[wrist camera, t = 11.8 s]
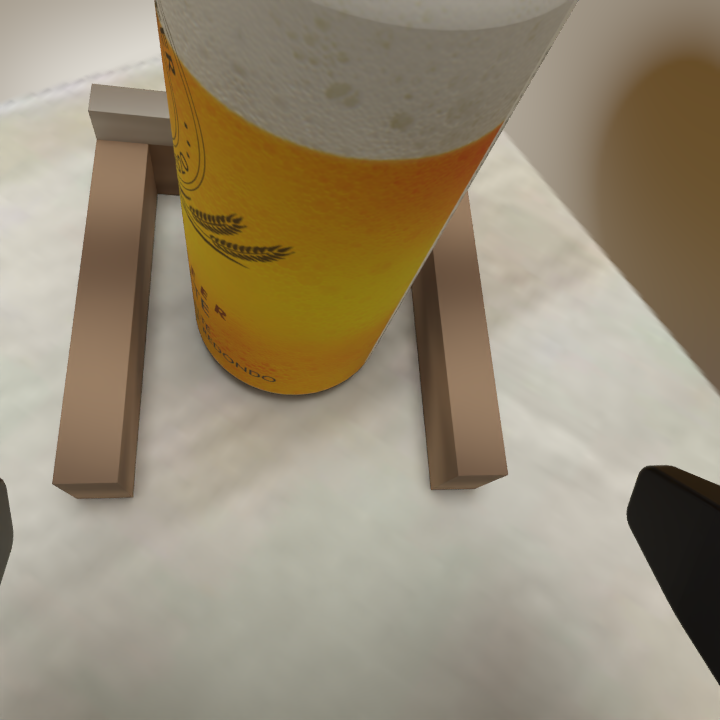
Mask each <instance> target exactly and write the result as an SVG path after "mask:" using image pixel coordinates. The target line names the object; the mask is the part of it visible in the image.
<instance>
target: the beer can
mask: <svg viewBox="0 0 720 720" xmlns="http://www.w3.org/2000/svg"><path fill="white" fill-rule="evenodd" d="M578 1H579V0H154V2H155V9H156V17H157V25H158V32H159V40H160V48H161V55H162V63H163V71H164V78H165V86H166V93H167V101H168V109H169V116H170V124H171V131H172V139H173V147H174V154H175V162H176V169H177V177H178V185H179V192H180V200H181V207H182V215H183V223H184V230H185V238H186V245H187V253H188V261H189V268H190V276H191V283H192V291H193V299H194V306H195V314H196V320H197V325H198V329H199V332H200V334H201V337H202V339H203V341H204V343H205V345H206V347H207V349H208V350H209V351H210V353H211V354H212V356H213V357H214V358H215V359H216V360H217V362H218V363H219V364H220V365H221V366H222V367H223V368H224V369H226V370H227V371H228V372H229V373H230V374H232V375H233V376H235V377H236V378H238V379H239V380H241V381H243V382H244V383H246V384H248V385H250V386H253V387H255V388H258V389H260V390H264V391H268V392H271V393H277V394H285V395H302V394H310V393H316V392H320V391H323V390H326V389H329V388H331V387H334V386H336V385H338V384H340V383H342V382H343V381H345V380H347V379H348V378H349V377H351V376H352V375H353V374H355V373H356V372H357V371H358V370H359V369H360V368H361V367H362V366H363V365H364V364H365V362H366V361H367V360H368V358H369V357H370V355H371V354H372V352H373V350H374V349H375V347H376V345H377V343H378V342H379V340H380V338H381V337H382V335H383V333H384V332H385V330H386V328H387V326H388V325H389V323H390V321H391V320H392V318H393V316H394V314H395V313H396V311H397V309H398V308H399V306H400V304H401V303H402V301H403V299H404V297H405V296H406V294H407V292H408V291H409V289H410V287H411V285H412V284H413V282H414V280H415V279H416V277H417V275H418V274H419V272H420V270H421V268H422V267H423V265H424V263H425V262H426V260H427V258H428V256H429V255H430V253H431V251H432V250H433V248H434V246H435V245H436V243H437V241H438V239H439V238H440V236H441V234H442V233H443V231H444V229H445V227H446V226H447V224H448V222H449V221H450V219H451V217H452V216H453V214H454V212H455V210H456V209H457V207H458V205H459V204H460V202H461V200H462V198H463V197H464V195H465V193H466V192H467V190H468V188H469V187H470V185H471V183H472V181H473V180H474V178H475V176H476V175H477V173H478V171H479V169H480V168H481V166H482V164H483V163H484V161H485V159H486V158H487V156H488V154H489V152H490V151H491V149H492V147H493V146H494V144H495V142H496V140H497V139H498V137H499V135H500V134H501V132H502V130H503V129H504V127H505V125H506V123H507V122H508V120H509V118H510V117H511V115H512V113H513V111H514V110H515V108H516V106H517V105H518V103H519V101H520V99H521V98H522V96H523V94H524V93H525V91H526V89H527V87H528V86H529V84H530V82H531V80H532V79H533V77H534V76H535V74H536V72H537V70H538V68H539V67H540V65H541V64H542V62H543V60H544V59H545V57H546V55H547V53H548V51H549V50H550V48H551V47H552V45H553V43H554V41H555V40H556V38H557V36H558V35H559V33H560V31H561V30H562V28H563V26H564V24H565V23H566V21H567V19H568V18H569V16H570V14H571V12H572V11H573V9H574V7H575V6H576V4H577V2H578Z"/></svg>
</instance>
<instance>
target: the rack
mask: <svg viewBox="0 0 720 720" xmlns="http://www.w3.org/2000/svg"><path fill="white" fill-rule="evenodd" d="M88 112H89V115H90V118H91V122H92V125H93V128H94V132H95V135H96V138H97V142H96V150H95V157H94V165H93V173H92V181H91V188H90V196H89V204H88V211H87V219H86V227H85V235H84V242H83V250H82V258H81V265H80V273H79V281H78V289H77V296H76V304H75V312H74V319H73V327H72V335H71V343H70V350H69V358H68V366H67V373H66V381H65V389H64V397H63V404H62V412H61V420H60V427H59V435H58V443H57V451H56V458H55V466H54V474H53V481H52V484H53V485H55V486H56V487H58V488H60V489H61V490H63V491H65V492H66V493H68V494H70V495H71V496H73V497H75V498H76V499H84V498H123V497H133V489H134V477H135V464H136V452H137V440H138V427H139V415H140V403H141V390H142V378H143V366H144V353H145V341H146V328H147V316H148V304H149V291H150V279H151V267H152V254H153V242H154V230H155V217H156V205H157V193H160V194H173V195H180V192H179V185H178V177H177V169H176V162H175V154H174V147H173V139H172V131H171V124H170V116H169V109H168V101H167V93H166V92H163V91H154V90H145V89H136V88H126V87H117V86H108V85H99V84H92V86H91V93H90V101H89V108H88ZM412 295H413V306H414V316H415V327H416V337H417V348H418V358H419V369H420V379H421V389H422V400H423V410H424V421H425V431H426V442H427V452H428V463H429V473H430V484H431V490H441V489H476V488H478V487H480V486H483V485H485V484H487V483H490V482H492V481H494V480H497V479H499V478H502V477H504V476H506V475H508V470H507V463H506V456H505V449H504V442H503V435H502V428H501V421H500V414H499V407H498V400H497V393H496V386H495V379H494V372H493V365H492V358H491V351H490V344H489V337H488V330H487V323H486V316H485V309H484V302H483V295H482V288H481V281H480V274H479V267H478V260H477V253H476V246H475V239H474V232H473V225H472V218H471V211H470V204H469V197H468V190H467V192H466V193H465V195H464V197H463V198H462V200H461V202H460V204H459V205H458V207H457V209H456V210H455V212H454V214H453V216H452V217H451V219H450V221H449V222H448V224H447V226H446V227H445V229H444V231H443V233H442V234H441V236H440V238H439V239H438V241H437V243H436V245H435V246H434V248H433V250H432V251H431V253H430V255H429V256H428V258H427V260H426V262H425V263H424V265H423V267H422V268H421V270H420V272H419V274H418V275H417V277H416V279H415V280H414V282H413V284H412Z"/></svg>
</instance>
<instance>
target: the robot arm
mask: <svg viewBox="0 0 720 720" xmlns="http://www.w3.org/2000/svg"><path fill="white" fill-rule="evenodd" d="M627 521H628V524H629V527H630V529H631V531H632V533H633V535H634V537H635V538H636V540H637V542H638V544H639V546H640V548H641V550H642V552H643V554H644V556H645V558H646V560H647V562H648V564H649V566H650V568H651V570H652V572H653V573H654V575H655V577H656V579H657V581H658V583H659V585H660V587H661V589H662V591H663V593H664V595H665V597H666V599H667V601H668V602H669V604H670V606H671V608H672V610H673V612H674V613H675V615H676V617H677V618H678V620H679V622H680V623H681V625H682V627H683V628H684V630H685V632H686V633H687V635H688V636H689V638H690V639H691V641H692V643H693V644H694V646H695V647H696V649H697V651H698V652H699V654H700V655H701V657H702V658H703V660H704V662H705V663H706V665H707V666H708V668H709V670H710V671H711V673H712V674H713V676H714V677H715V679H716V681H717V682H718V684H719V685H720V485H717V484H715V483H712V482H710V481H707V480H705V479H703V478H700V477H698V476H695V475H693V474H691V473H688V472H686V471H683V470H681V469H678V468H676V467H673V466H669V465H654V466H646V467H644V468H643V469H642V470H641V471H640V472H639V475H638V477H637V480H636V483H635V486H634V489H633V492H632V495H631V498H630V501H629V504H628V507H627ZM12 544H13V526H12V519H11V513H10V507H9V500H8V494H7V488H6V485H5V483H4V481H3V480H2V479H1V478H0V584H1V581H2V578H3V575H4V571H5V568H6V565H7V562H8V559H9V555H10V552H11V549H12Z"/></svg>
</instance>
